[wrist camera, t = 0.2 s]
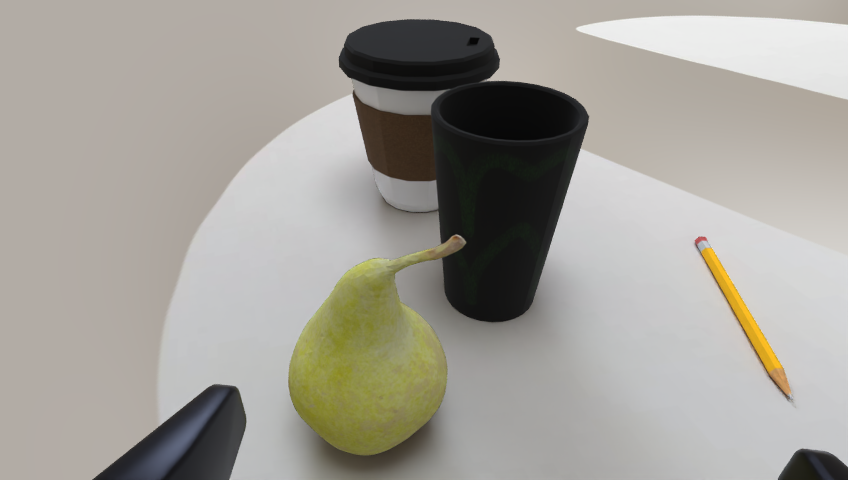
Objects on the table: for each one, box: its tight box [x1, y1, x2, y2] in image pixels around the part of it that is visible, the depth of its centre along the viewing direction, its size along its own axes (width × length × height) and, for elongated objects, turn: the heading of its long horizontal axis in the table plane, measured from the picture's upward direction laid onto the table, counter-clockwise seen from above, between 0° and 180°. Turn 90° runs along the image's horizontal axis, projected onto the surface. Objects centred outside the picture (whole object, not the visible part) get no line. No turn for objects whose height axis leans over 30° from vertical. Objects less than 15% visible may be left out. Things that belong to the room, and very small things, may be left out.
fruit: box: [288, 235, 466, 455], centre depth 22 cm, size 7×8×12 cm
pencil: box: [695, 237, 793, 400], centre depth 32 cm, size 1×13×1 cm, turn 175°
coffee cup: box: [339, 19, 500, 212], centre depth 39 cm, size 11×11×12 cm
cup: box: [431, 81, 589, 322], centre depth 29 cm, size 8×8×12 cm
